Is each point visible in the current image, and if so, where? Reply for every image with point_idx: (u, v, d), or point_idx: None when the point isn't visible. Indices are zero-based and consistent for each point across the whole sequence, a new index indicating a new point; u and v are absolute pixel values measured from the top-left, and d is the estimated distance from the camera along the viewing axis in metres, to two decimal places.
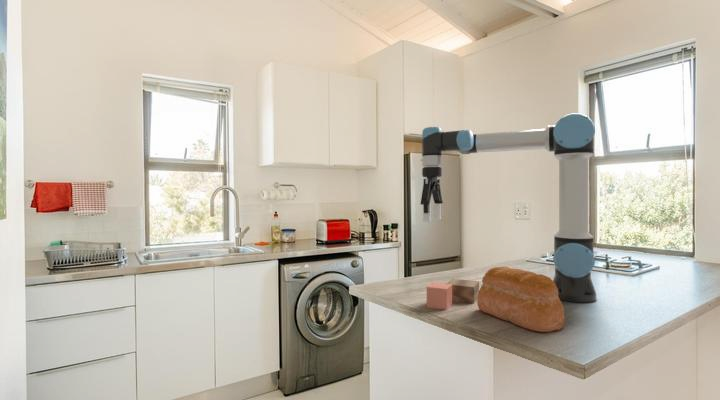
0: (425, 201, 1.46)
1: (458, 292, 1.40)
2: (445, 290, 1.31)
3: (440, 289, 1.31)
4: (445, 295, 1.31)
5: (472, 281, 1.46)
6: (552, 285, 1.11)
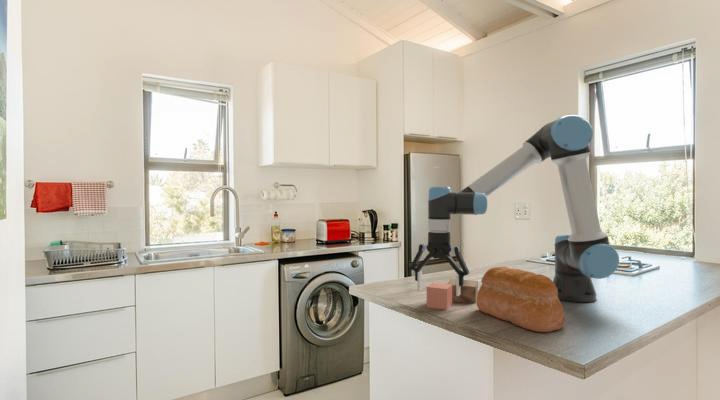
0: None
1: None
2: (445, 290, 1.31)
3: (440, 289, 1.31)
4: (445, 295, 1.31)
5: (471, 281, 1.47)
6: (552, 285, 1.11)
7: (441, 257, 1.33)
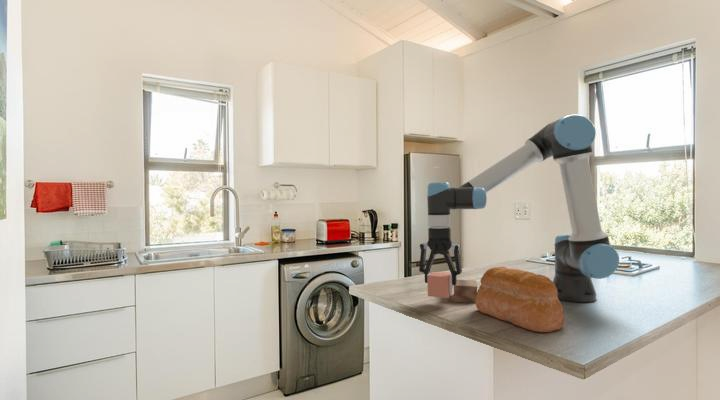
0: None
1: (460, 292, 1.40)
2: (446, 278, 1.31)
3: (441, 277, 1.31)
4: (446, 283, 1.31)
5: (470, 281, 1.47)
6: (552, 285, 1.11)
7: (442, 253, 1.33)
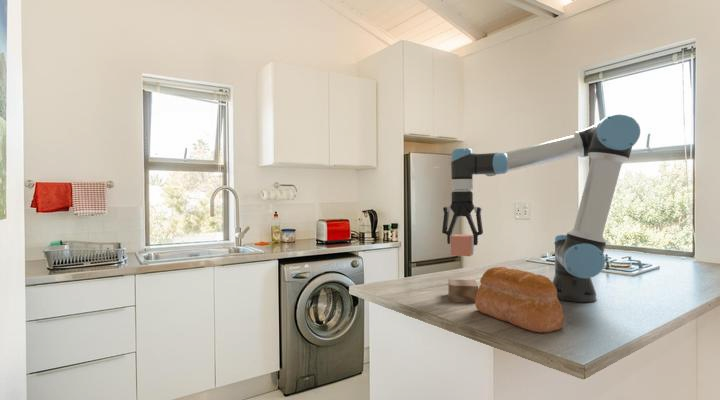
0: None
1: (462, 292, 1.40)
2: (468, 238, 1.39)
3: (463, 237, 1.40)
4: (469, 242, 1.39)
5: (469, 280, 1.47)
6: (551, 286, 1.10)
7: (464, 215, 1.42)
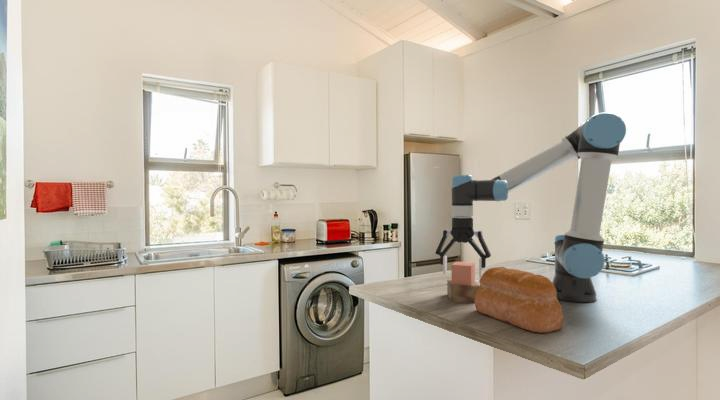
0: None
1: (463, 292, 1.39)
2: (469, 267, 1.40)
3: (464, 266, 1.41)
4: (470, 272, 1.40)
5: None
6: (551, 286, 1.10)
7: (465, 241, 1.43)
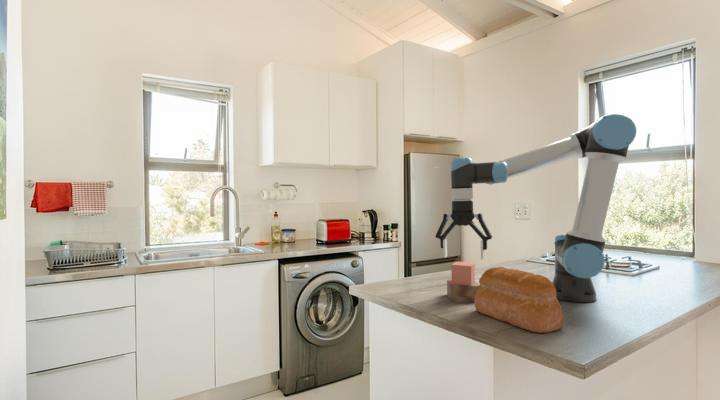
0: None
1: (463, 292, 1.39)
2: (469, 267, 1.40)
3: (464, 266, 1.41)
4: (470, 272, 1.40)
5: None
6: (551, 286, 1.10)
7: (465, 224, 1.42)
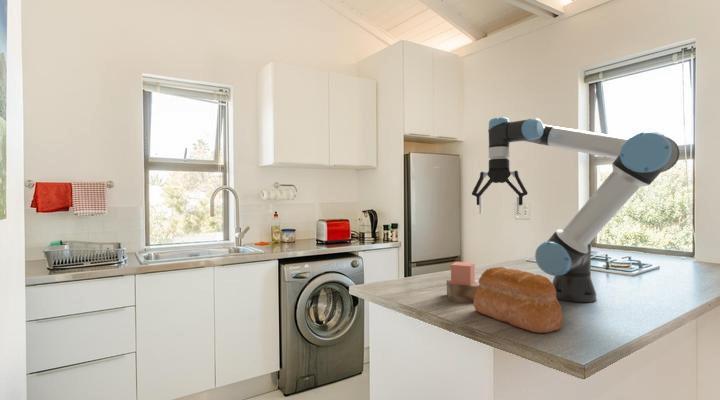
0: (472, 193, 1.55)
1: (463, 293, 1.39)
2: (469, 267, 1.40)
3: (464, 266, 1.40)
4: (469, 272, 1.40)
5: None
6: (550, 286, 1.10)
7: (501, 181, 1.49)
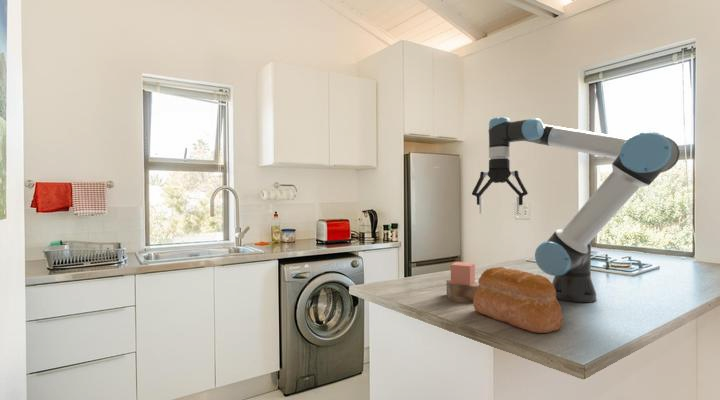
0: (472, 193, 1.55)
1: (462, 293, 1.39)
2: (468, 267, 1.39)
3: (463, 266, 1.40)
4: (469, 272, 1.39)
5: None
6: (550, 286, 1.10)
7: (502, 181, 1.50)
